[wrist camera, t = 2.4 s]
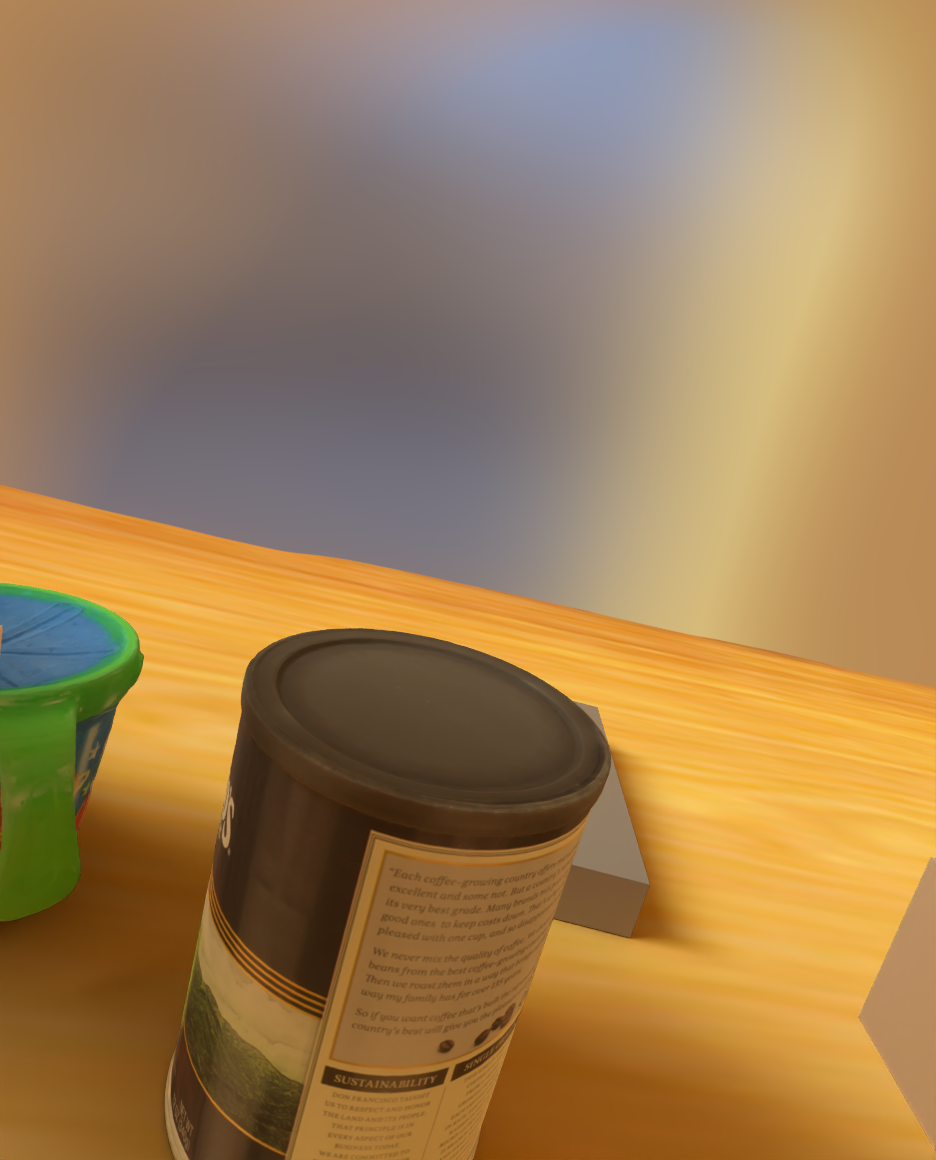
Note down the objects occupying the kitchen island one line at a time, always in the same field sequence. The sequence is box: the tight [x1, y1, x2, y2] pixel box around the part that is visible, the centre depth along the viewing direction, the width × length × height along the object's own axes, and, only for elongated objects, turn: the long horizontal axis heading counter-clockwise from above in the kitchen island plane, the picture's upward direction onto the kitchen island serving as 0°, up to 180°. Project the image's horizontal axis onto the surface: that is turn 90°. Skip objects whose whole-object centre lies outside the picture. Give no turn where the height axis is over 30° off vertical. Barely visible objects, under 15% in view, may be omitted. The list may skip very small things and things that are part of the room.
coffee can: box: [165, 628, 611, 1160], centre depth 23 cm, size 10×10×14 cm
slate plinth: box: [553, 701, 650, 938], centre depth 45 cm, size 18×20×3 cm
